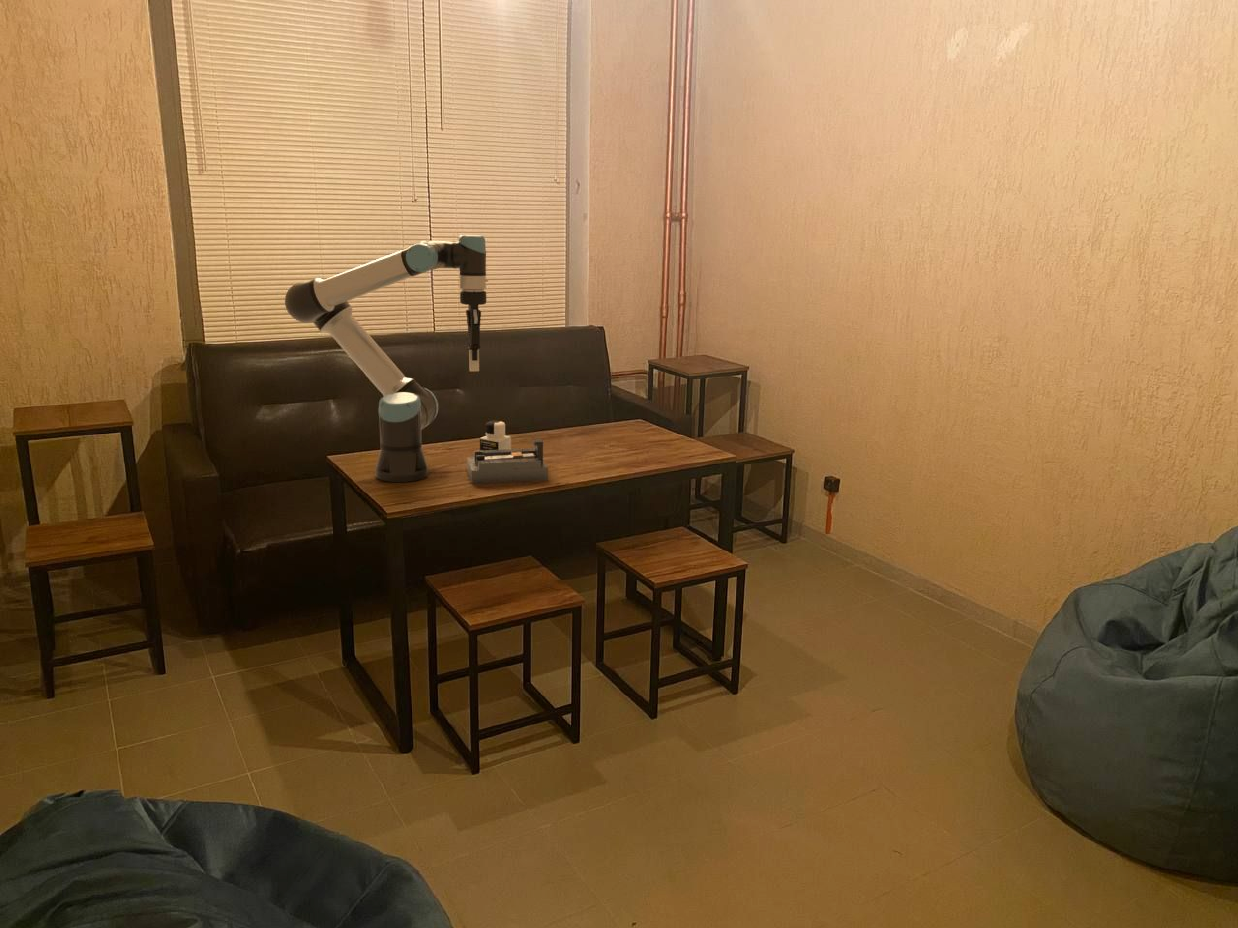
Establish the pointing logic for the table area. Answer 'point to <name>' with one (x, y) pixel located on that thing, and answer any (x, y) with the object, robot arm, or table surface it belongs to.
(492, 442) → the medicine bottle
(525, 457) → the strap
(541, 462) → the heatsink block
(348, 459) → the table surface
